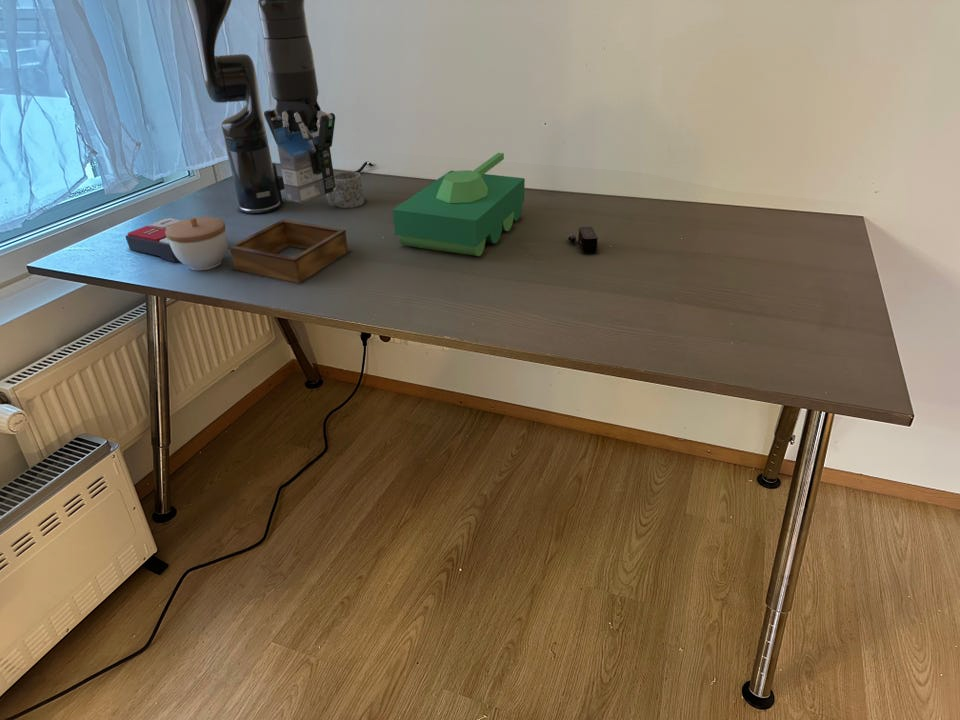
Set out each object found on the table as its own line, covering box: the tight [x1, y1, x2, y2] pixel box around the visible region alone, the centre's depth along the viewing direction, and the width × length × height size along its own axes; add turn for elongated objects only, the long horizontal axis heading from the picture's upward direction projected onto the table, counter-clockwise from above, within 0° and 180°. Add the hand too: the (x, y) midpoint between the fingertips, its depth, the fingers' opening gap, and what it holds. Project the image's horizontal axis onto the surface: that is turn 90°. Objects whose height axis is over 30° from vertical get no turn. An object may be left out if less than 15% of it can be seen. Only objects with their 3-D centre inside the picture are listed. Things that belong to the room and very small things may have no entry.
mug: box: [325, 170, 365, 209], centre depth 156 cm, size 10×7×7 cm
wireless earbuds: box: [567, 226, 599, 255], centre depth 131 cm, size 5×7×3 cm, turn 2°
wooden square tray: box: [227, 219, 349, 284], centre depth 129 cm, size 16×16×5 cm
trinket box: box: [165, 216, 229, 271], centre depth 128 cm, size 11×11×9 cm
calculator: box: [124, 217, 182, 263], centre depth 137 cm, size 11×4×15 cm
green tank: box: [392, 152, 526, 257], centre depth 141 cm, size 18×12×35 cm
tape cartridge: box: [274, 127, 336, 205], centre depth 116 cm, size 9×4×12 cm, turn 147°
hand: (308, 171), depth 117 cm, fingers closed on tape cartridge, 4 cm apart
